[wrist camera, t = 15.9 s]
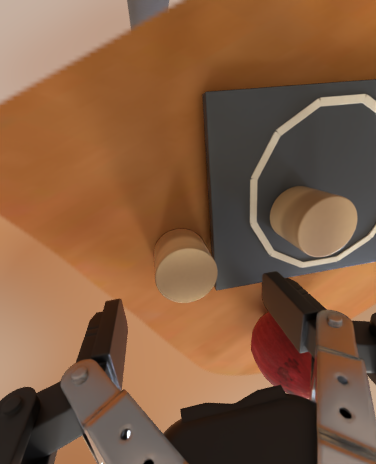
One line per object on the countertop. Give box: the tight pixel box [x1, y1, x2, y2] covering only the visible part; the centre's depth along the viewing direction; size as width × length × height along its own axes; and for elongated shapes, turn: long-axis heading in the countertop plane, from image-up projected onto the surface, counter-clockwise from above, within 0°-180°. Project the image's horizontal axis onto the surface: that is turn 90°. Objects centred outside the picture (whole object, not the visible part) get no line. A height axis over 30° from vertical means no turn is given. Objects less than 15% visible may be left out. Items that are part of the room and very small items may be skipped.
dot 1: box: [154, 229, 218, 303], centre depth 16 cm, size 4×4×4 cm
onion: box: [251, 312, 311, 398], centre depth 18 cm, size 6×6×8 cm
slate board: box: [203, 79, 376, 290], centre depth 17 cm, size 14×18×1 cm
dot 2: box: [270, 186, 357, 257], centre depth 16 cm, size 4×4×4 cm
